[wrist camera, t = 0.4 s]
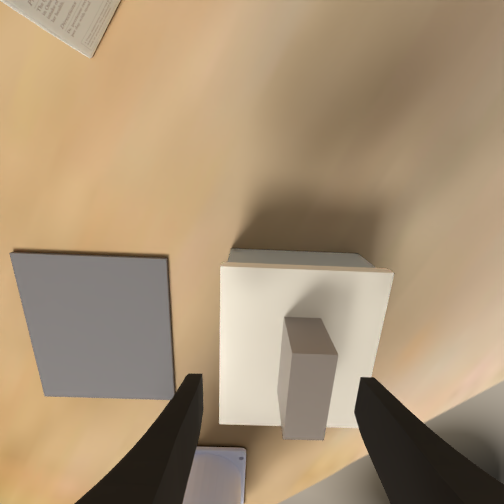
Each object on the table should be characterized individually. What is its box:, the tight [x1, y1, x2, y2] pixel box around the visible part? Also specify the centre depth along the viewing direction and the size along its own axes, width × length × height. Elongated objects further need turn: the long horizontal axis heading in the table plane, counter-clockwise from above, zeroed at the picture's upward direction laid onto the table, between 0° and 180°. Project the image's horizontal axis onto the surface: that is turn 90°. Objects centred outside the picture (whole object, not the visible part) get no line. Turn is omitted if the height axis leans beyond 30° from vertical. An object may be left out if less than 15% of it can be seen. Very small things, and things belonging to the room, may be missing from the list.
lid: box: [219, 262, 394, 440], centre depth 17 cm, size 13×11×5 cm
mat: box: [10, 252, 175, 400], centre depth 22 cm, size 14×12×1 cm
